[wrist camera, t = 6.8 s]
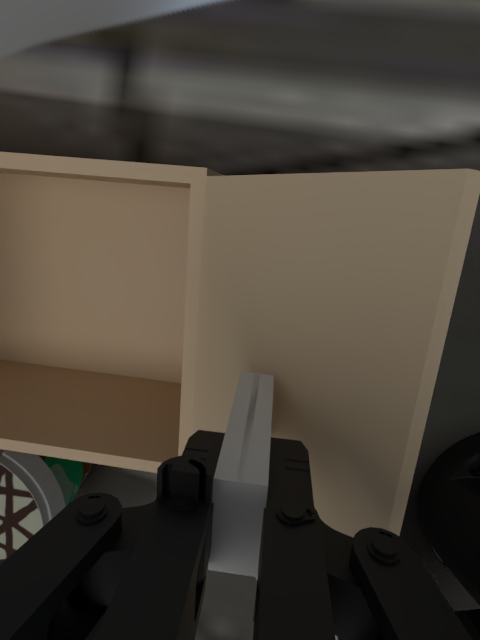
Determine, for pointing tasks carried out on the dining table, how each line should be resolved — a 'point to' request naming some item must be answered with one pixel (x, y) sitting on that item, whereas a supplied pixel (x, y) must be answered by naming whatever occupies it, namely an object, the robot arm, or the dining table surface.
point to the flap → (334, 319)
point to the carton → (99, 307)
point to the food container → (34, 494)
